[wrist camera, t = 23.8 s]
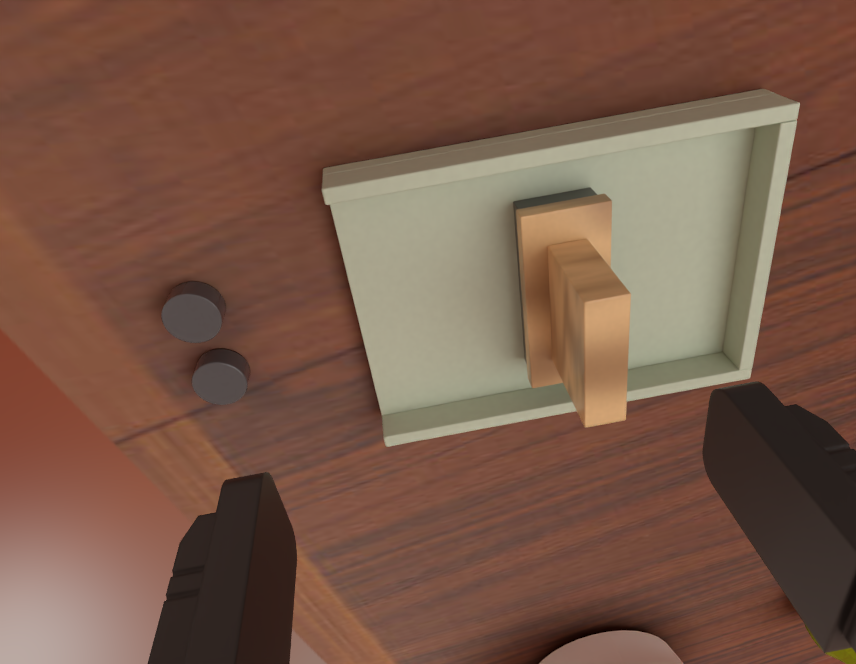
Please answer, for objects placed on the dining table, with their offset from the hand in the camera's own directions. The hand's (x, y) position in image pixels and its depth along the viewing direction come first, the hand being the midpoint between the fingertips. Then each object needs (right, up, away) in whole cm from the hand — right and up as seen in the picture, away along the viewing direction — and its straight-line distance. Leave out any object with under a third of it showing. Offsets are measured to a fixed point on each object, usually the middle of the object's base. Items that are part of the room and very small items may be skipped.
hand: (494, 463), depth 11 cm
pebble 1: (-14, +4, +22) cm, 26 cm away
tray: (+6, +6, +24) cm, 25 cm away
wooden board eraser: (+6, +5, +23) cm, 24 cm away
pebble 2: (-13, 0, +25) cm, 28 cm away
